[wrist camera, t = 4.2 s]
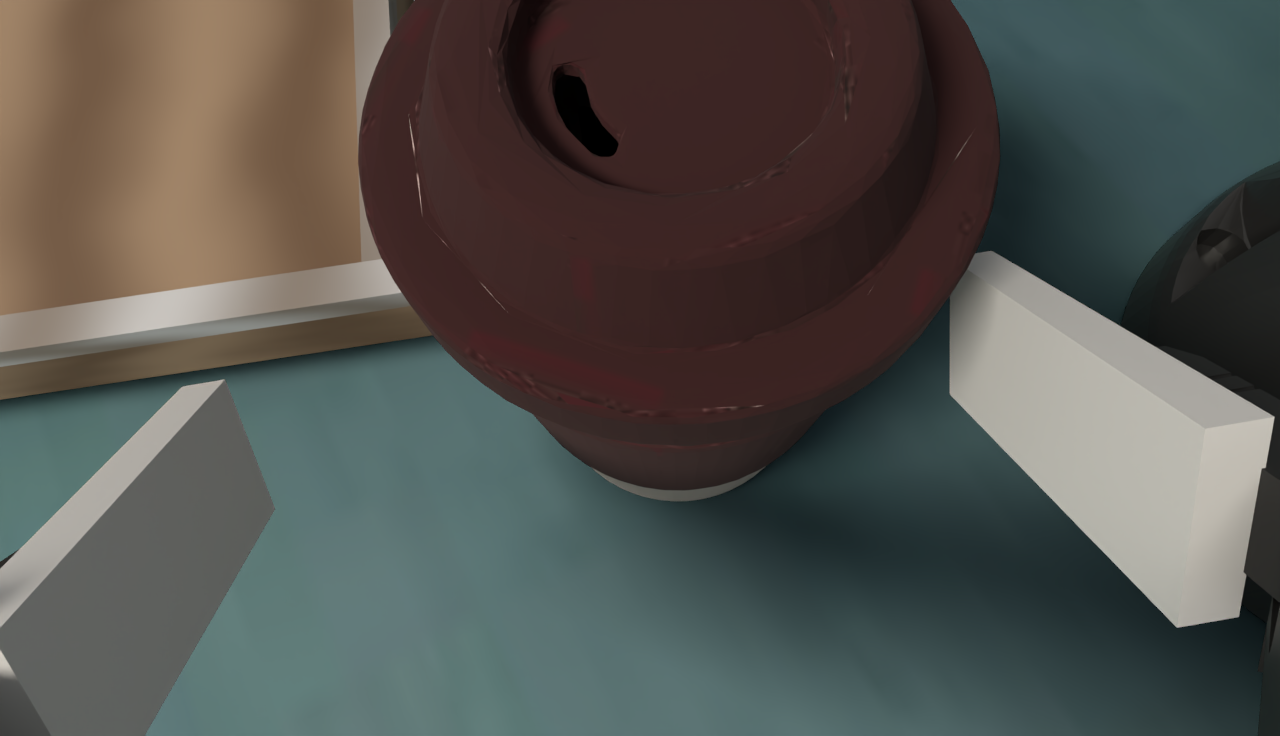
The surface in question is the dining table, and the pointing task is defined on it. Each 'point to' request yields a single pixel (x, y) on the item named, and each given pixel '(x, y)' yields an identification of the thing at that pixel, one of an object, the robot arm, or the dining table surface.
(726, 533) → the dining table surface
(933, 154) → the coffee cup
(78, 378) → the shallow square tray
